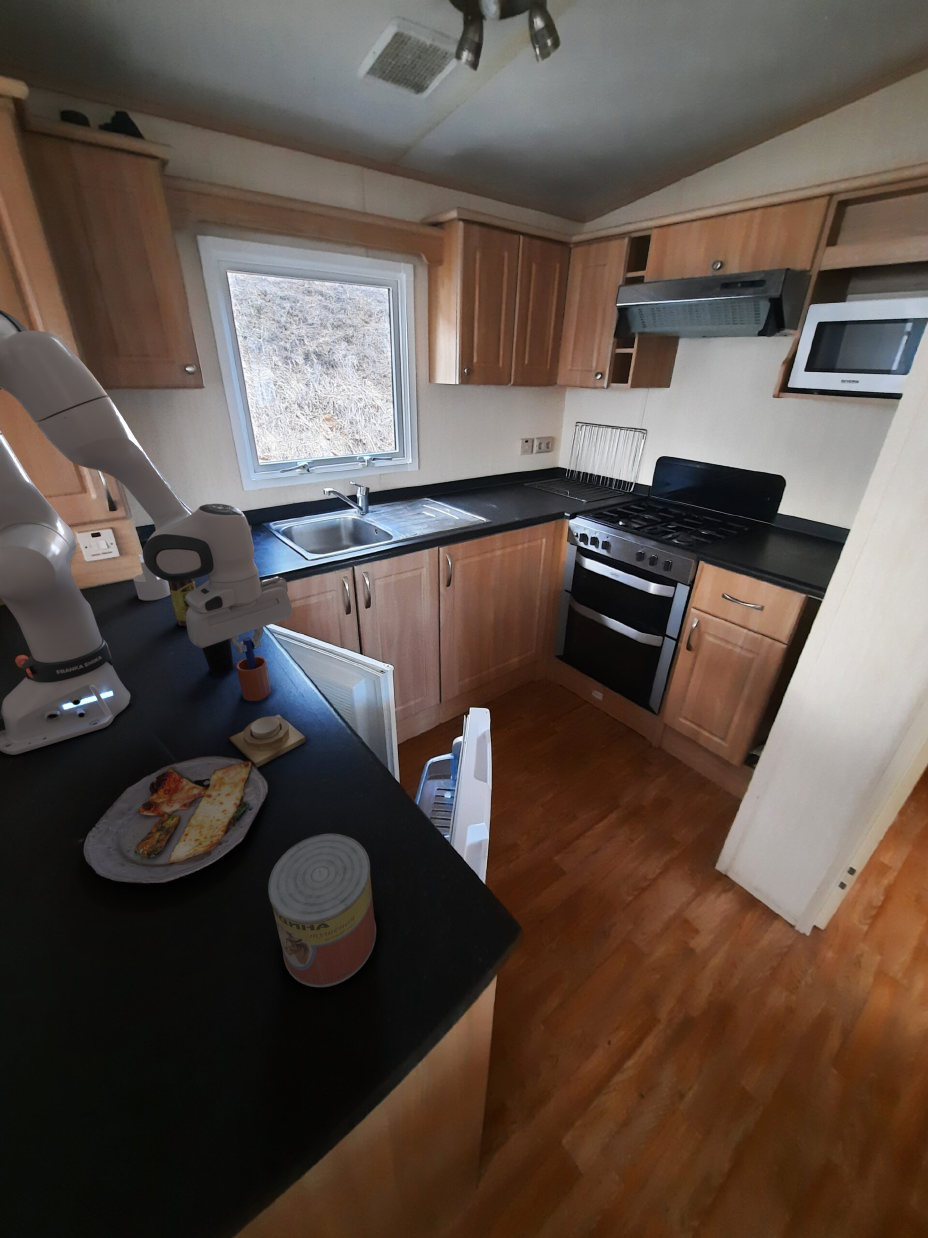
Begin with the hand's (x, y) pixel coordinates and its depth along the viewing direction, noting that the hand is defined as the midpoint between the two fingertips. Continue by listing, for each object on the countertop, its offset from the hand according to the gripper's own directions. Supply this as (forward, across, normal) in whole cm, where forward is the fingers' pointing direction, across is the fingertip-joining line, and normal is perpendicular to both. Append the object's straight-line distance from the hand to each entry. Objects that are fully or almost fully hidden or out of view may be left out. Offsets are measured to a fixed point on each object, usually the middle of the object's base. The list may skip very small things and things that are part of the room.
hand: (249, 649), depth 105 cm
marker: (+10, 0, 0) cm, 10 cm away
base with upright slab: (+11, -4, -73) cm, 74 cm away
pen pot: (+11, 0, 0) cm, 11 cm away
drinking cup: (+12, +1, -15) cm, 19 cm away
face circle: (+9, +6, +16) cm, 19 cm away
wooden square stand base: (+11, +6, +16) cm, 20 cm away
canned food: (+12, +19, +56) cm, 60 cm away
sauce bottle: (+12, -4, -46) cm, 48 cm away
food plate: (+12, +24, +24) cm, 36 cm away
